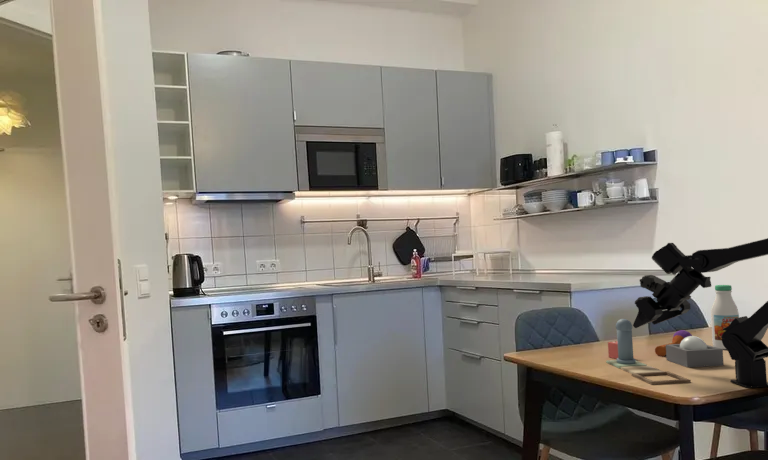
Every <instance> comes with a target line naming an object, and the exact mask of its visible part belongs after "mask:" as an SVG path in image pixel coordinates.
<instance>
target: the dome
mask: <svg viewBox="0 0 768 460" xmlns="http://www.w3.org/2000/svg"><path fill="white" fill-rule="evenodd" d="M707 345H708V344H707V343H706V342H705V341H704V340H703V339H702V338H700V337H698V336H696V335H692V336H688V337H686V338H684V339H683V340H682V341H681V343H680V348H683V349H687V350H697V349H707Z"/></svg>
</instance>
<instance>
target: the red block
mask: <svg viewBox="0 0 768 460" xmlns="http://www.w3.org/2000/svg"><path fill="white" fill-rule="evenodd" d="M607 349H608V358H611V359H614V360H617V358H618V343H617V340H616V341H610V342H607Z"/></svg>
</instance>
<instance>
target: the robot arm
mask: <svg viewBox="0 0 768 460" xmlns="http://www.w3.org/2000/svg"><path fill="white" fill-rule="evenodd" d="M764 256H768V237H767V238H764V239H760V240H755V241H751V242H748V243H747V242H746V243H743V244H739V245H734V246H731V247H725V248H711V249H699V250H695V251H693V252H692V253H691V254H689V255H686V254H685V253H684V252H682V251H681V250H680V249H679V248H678V247H677V245H676V244H675V243H674V242H667V244H666V245H664V246H662V247H661V248H659V249H658V250H656V251H655V252H654V253H653V254H652V256H651V259H652V261H654V263H655V264H656V265H657V266H658V267H660V269H662V271H663V272H664V273H665V274H666V275H675V276H673V278H672V279H671V280H670V281H666V280H664V279H662V278H660V277H658V276H656V275H653V274H647V275H643V276H642V278H640V279H639V284H640V288H642V289H645V290H648V291H650V292H652V293H651V295H652V297H654V298H652V297H651V296H649V295H648V296H639V297H637V299H636V300H635V301H634V305H635V307H636V308H637V309H638V310H637V311H638V312H637V315H636V318H635V319H634V321H633V324H632V327H633V328H635V329H638V328H640V327H643V326H645V325H647V324H649V323H652V324H653V325H657V324H660V323H663V322H665V321H668V320H671V319H674V318H677V317H679V316H683V315H684V314H687V313H688V312H689V311H690V310H691V303H690V302H689V301H688V300H690V299H691V298H692V296H691V295H692V294H693V293H694V292H695V291H696V290H697V288H699V287H700V286H701V288H703V289H705V288H711V287H712V282H711V276H705V275H704V274H703V273H712V272H718V271H720V270H723V269H725V268H728V267H730V266H731V265H734V264H735V263H739V262H742V261H747V260H752V259H756V258H759V257H764ZM655 298H656V300H654V299H655ZM723 330H725V332H724V333H723V334H722V336H721V338H722V343H723V345H724V347H725V348H726V349H725V350H727V352H728V354H729V357H730V359H731V360H733V361H735V362H734V368H735V371H734V372H735V373H734V374H735V379H733V378H732V379H730V382H731V383H733V384H736V385H739V386H742V387H745V388H748V389H749V388H765V387H766V388H767V387H768V381H767V380H768V377H767V363H766V360H765V358H768V346H767V344H765V343H764V342H763V341H762V340H763V338H764V337H765V335H766V332H767V331H768V300H767V301H765V303H763V305H761V306H760V307H759V308H758V309H756V311H755V312H753V314H751V316H749V317H748V316H747V315H745V316H741V317H740V316H739V318H735V319H734V320H733V321H732V322H731V324H730V325H729V326H728V327H726V328H723Z"/></svg>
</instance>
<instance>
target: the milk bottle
mask: <svg viewBox="0 0 768 460" xmlns="http://www.w3.org/2000/svg"><path fill="white" fill-rule="evenodd" d="M732 290H733V288H732V285H730V284H716V285H714V292H715V293H716V294H715V297H714V298H715V299H714V301H713V303H712V306H711V310H710V314H711V315H710V318H711V320H710V322H711V339H712V346H713V347H717V348H721V349H723V350H727V349H726V348H725V347H724V345H723V343H722V338H721V336H722V334H723V333H724V332H725V330H723V328H726V327H728V326H729V325H730V324H731V322H732V321H733V320H734V319H735V318H739V317H740V315H739V314H740V313H739V310H738V306H737V304H736V302H735V301H734V299H733V296H732V292H733V291H732Z"/></svg>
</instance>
